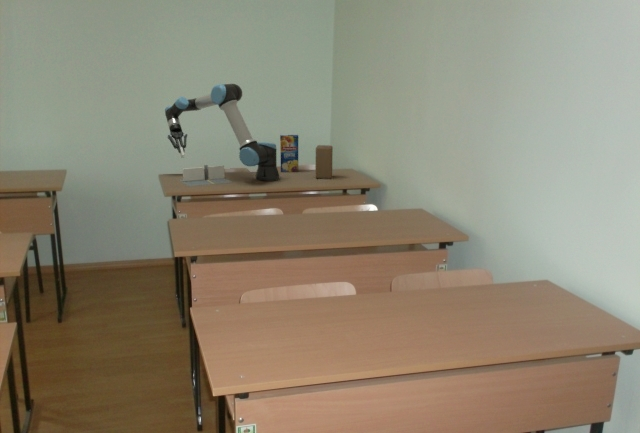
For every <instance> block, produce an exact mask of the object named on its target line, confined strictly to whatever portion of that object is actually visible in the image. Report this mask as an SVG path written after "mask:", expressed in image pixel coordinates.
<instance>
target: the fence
mask: <svg viewBox="0 0 640 433" xmlns="http://www.w3.org/2000/svg"><path fill="white" fill-rule="evenodd" d="M203 167H204V178H205V180H208V179H209V180H211V179H222V178H225V165H212V166H208V165H207V164H204V165H203Z"/></svg>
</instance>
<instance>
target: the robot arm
mask: <svg viewBox="0 0 640 433" xmlns="http://www.w3.org/2000/svg"><path fill="white" fill-rule="evenodd" d="M242 97H243V90H242V88H241V87H240V86H239V85H238V84H236V83H220V84H216V85H214V86H213V87H212V88H211V91H210V94H206V95H202V96H199V97H195V98H192V99H191V98H190V99H188V98H186V97H184V96H179V97H178V98H177V99H176V100H175V101H174V103H173V104H172V105H168V106H166V107H165V109H164V113H165V114H164V115H165V118H166V121H167V125H168V129H169V134H168V135H167V139H168V140H169V142H170V143H171V144H172V147H173V149H176V150H177V151H178V153H179V154H180V157H181V159H182V158H185V151H186V150H185V149H186V148H187V138H188V134H187V133H186V134H185V133H184V131H183V129H182V125H181V123H180V118H179V117H180V116H181V115H182V114H183V113H184V112H185V113H186V112H193V111H197V112H198V111H201V110H202V109H205V108H209V107H214V106H217V105H218V107H219V109H220V110H221V111H223V112H224V114H225V116H226V118H227V120H228V123H229V124H230V127H231V129H232V131H233V133H234V136H235V137H236V139H237V141H238V144H239V148H238V150H239V153H238V154H239V155H238V158H239V160H240V162H241V163H242V164H243V165H244V166H246V167H257V170H256V172H255V180H257V181H260V182H274V181H278V180H280V173H279V170H278V167H277V150H278V149H277V145H276V143H274V142H260V141H259V142H258V141H257V140H256V139H253V138H254V137H253V136H252V135H251V132H250V130H249V128H248V126H247V123H246V122H245V120H244V117H243V115H242V113H241V111H240V110H239V106H238V105H237V104H238V102H239V101H240V100H241V99H242Z"/></svg>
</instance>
